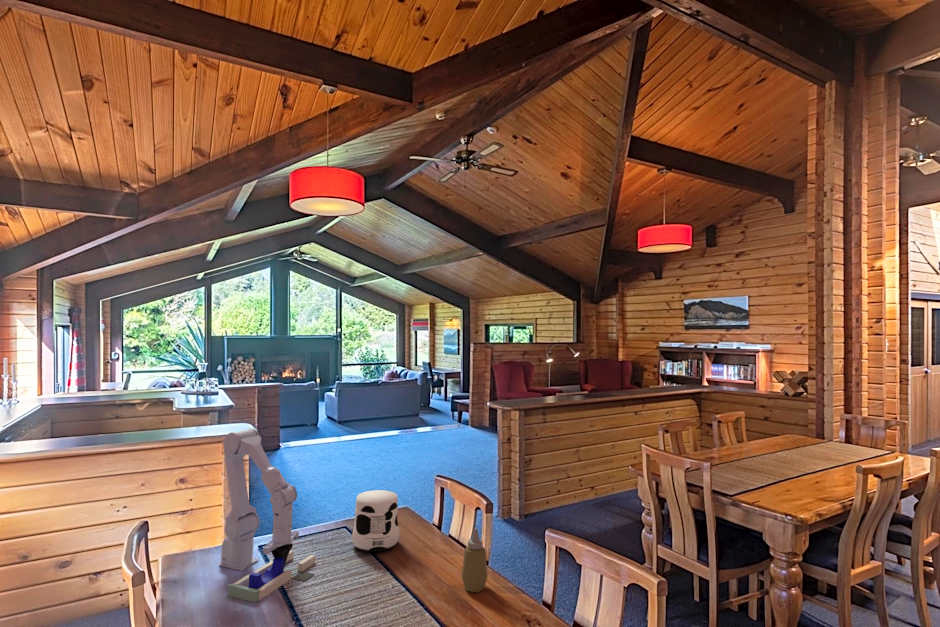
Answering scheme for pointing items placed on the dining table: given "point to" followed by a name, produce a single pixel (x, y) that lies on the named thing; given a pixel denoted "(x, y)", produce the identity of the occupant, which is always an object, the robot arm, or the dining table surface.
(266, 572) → the cable clip
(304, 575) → the mat
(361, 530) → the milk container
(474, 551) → the squeeze bottle
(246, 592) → the lane
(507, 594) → the dining table surface
